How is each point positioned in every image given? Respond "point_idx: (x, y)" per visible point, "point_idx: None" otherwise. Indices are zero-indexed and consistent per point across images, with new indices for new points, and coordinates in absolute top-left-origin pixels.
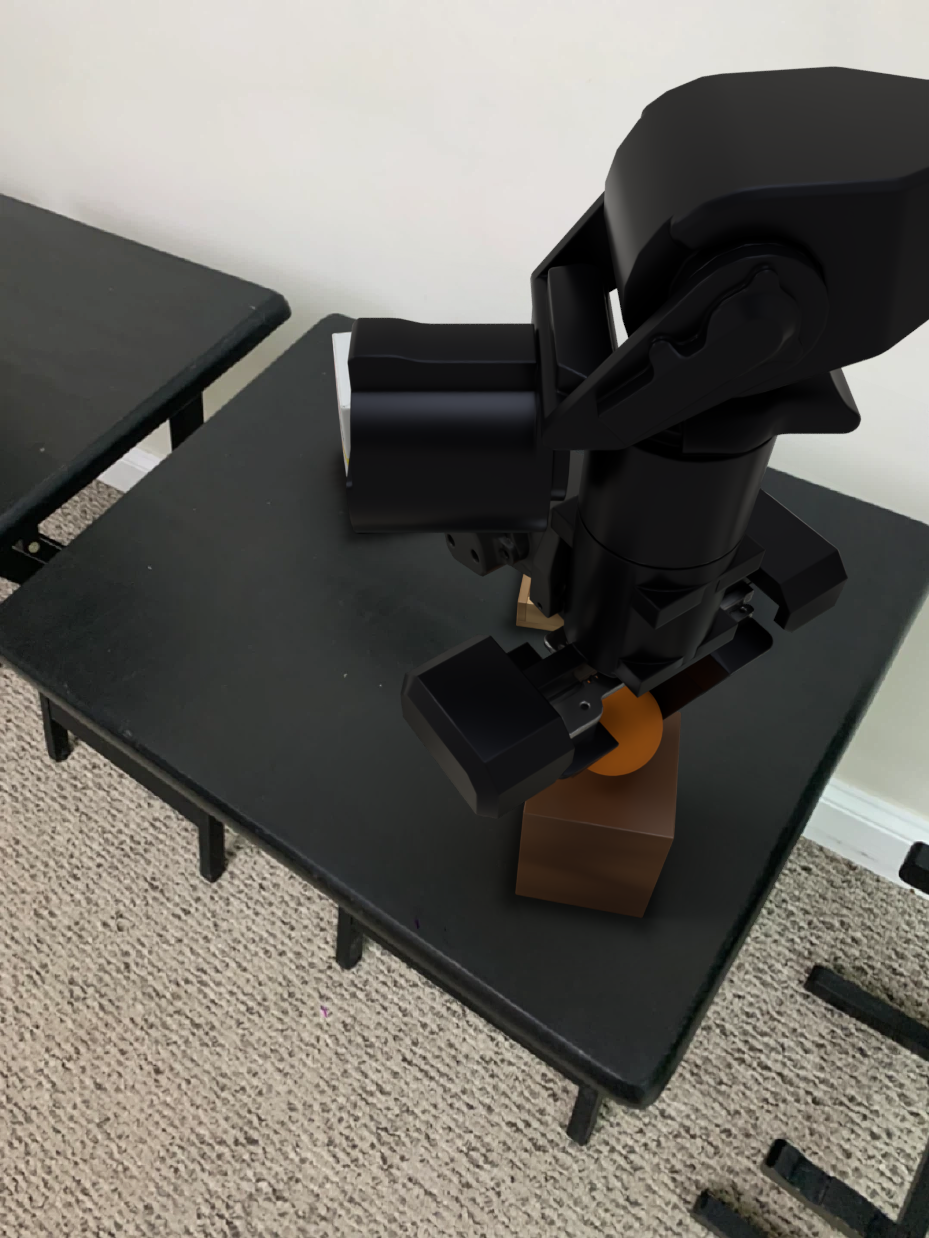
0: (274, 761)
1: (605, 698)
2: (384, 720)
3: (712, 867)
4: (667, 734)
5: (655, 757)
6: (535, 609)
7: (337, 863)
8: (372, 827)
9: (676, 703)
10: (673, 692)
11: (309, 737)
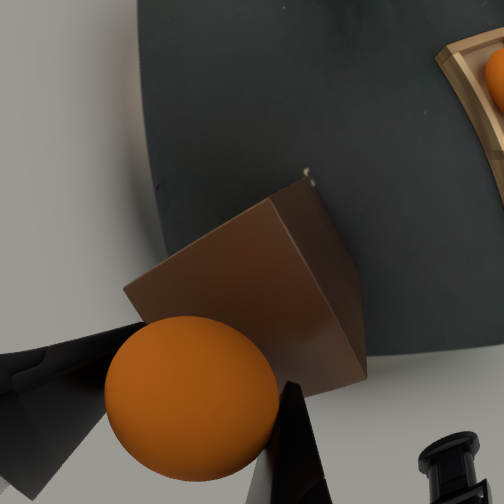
0: (174, 19)
1: (131, 446)
2: (259, 33)
3: None
4: (323, 380)
5: (283, 380)
6: (455, 65)
7: (149, 112)
8: (182, 104)
9: (248, 493)
10: (249, 502)
11: (204, 14)
